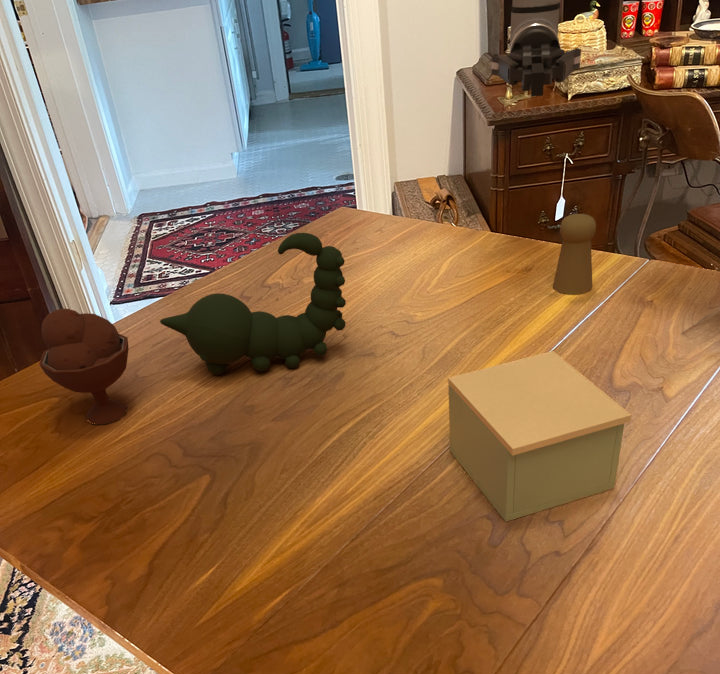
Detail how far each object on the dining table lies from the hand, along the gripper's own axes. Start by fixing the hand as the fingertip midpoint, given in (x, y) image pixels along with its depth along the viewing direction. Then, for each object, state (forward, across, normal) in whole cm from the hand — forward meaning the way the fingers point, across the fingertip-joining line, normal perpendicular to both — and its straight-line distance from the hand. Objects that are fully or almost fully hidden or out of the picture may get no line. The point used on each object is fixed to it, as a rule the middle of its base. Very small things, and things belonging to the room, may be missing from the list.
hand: (537, 84), depth 94 cm
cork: (-6, -7, -30) cm, 32 cm away
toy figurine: (+19, +37, -30) cm, 51 cm away
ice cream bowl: (+33, +55, -30) cm, 71 cm away
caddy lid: (+43, 0, -21) cm, 48 cm away
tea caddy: (+42, 0, -30) cm, 52 cm away
